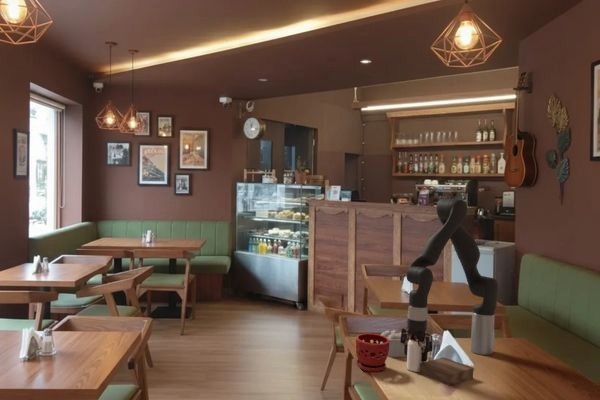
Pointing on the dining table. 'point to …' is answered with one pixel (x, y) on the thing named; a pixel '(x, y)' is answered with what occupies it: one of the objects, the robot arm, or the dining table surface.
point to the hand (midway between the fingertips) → (415, 358)
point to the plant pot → (371, 352)
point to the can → (414, 356)
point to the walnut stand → (446, 371)
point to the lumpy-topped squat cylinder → (394, 344)
